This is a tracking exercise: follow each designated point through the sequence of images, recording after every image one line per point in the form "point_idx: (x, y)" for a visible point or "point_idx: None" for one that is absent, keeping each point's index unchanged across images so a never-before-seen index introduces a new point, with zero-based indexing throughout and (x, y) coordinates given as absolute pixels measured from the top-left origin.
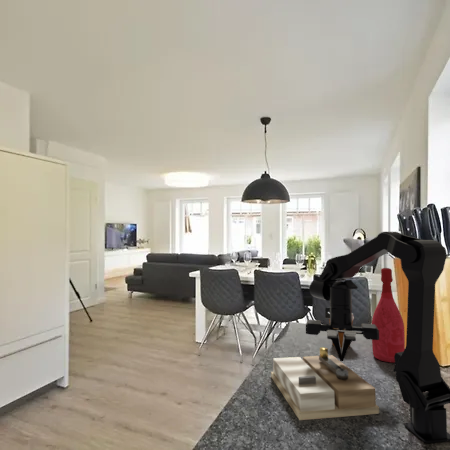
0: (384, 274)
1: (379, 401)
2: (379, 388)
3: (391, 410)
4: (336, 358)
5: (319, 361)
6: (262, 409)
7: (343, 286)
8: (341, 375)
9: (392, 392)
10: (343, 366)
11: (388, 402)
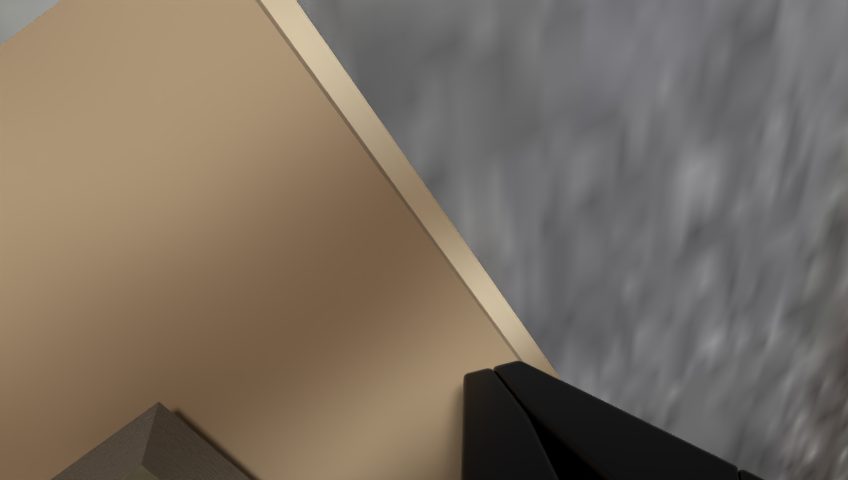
0: None
1: (706, 393)
2: (753, 145)
3: (756, 469)
4: (343, 120)
5: (71, 455)
6: None
7: None
8: None
9: (841, 178)
10: None
11: (764, 374)
